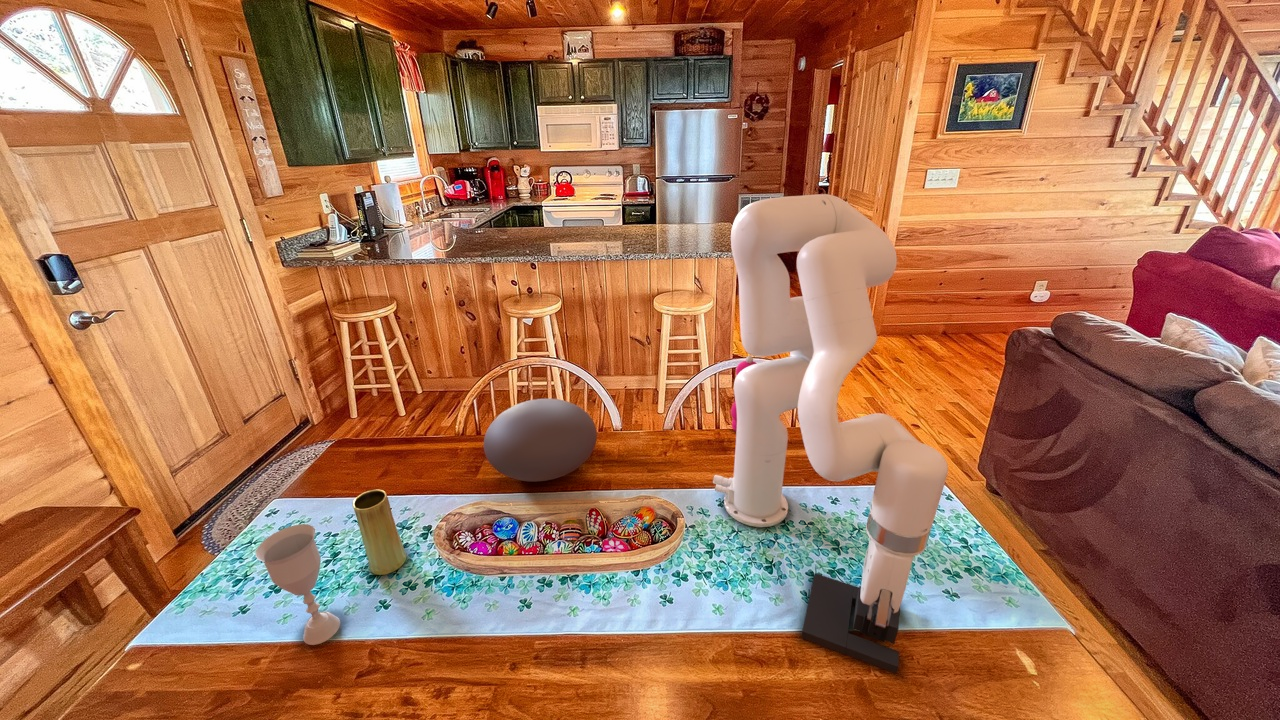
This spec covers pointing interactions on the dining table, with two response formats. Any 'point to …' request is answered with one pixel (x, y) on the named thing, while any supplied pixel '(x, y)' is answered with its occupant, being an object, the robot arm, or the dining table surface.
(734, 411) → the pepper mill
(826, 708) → the dining table surface
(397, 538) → the vase
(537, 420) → the flattened ellipsoid
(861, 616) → the connector pad
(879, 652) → the base pad
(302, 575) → the chalice
